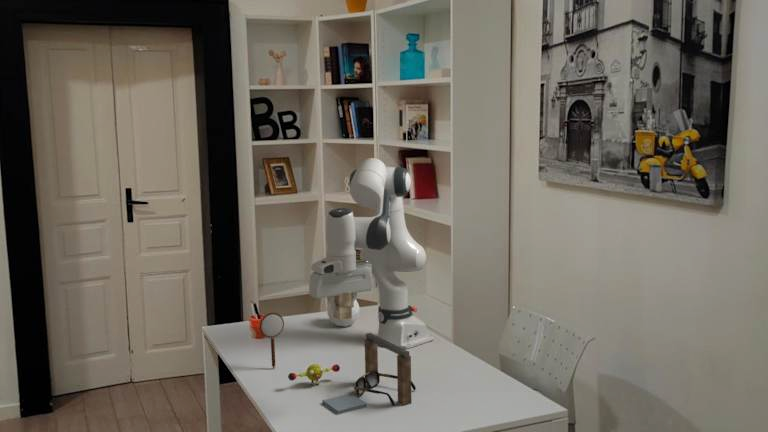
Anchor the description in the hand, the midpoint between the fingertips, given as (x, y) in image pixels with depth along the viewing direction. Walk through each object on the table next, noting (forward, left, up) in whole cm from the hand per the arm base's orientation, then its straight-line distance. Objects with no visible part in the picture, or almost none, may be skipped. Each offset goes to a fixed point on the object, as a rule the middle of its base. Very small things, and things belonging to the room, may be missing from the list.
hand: (342, 308), depth 226 cm
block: (0, 0, -3) cm, 3 cm away
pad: (0, +1, -30) cm, 30 cm away
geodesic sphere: (-40, -72, -30) cm, 88 cm away
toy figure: (0, -19, -30) cm, 36 cm away
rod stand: (-16, 0, -30) cm, 34 cm away
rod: (-16, 0, -15) cm, 22 cm away
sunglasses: (-14, 0, -30) cm, 33 cm away
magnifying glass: (+5, -41, -30) cm, 52 cm away
